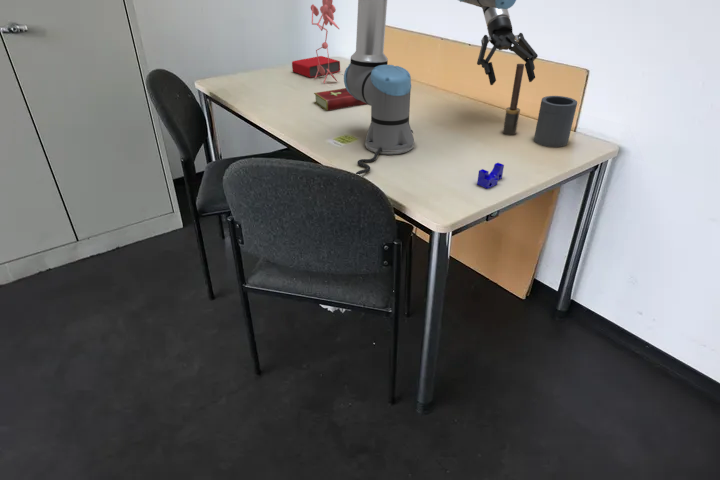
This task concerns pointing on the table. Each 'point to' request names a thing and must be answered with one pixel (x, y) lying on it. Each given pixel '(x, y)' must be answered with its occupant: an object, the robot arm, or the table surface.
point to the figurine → (328, 16)
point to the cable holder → (490, 176)
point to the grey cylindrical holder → (555, 121)
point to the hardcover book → (336, 99)
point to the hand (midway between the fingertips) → (512, 81)
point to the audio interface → (315, 66)
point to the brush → (514, 104)
